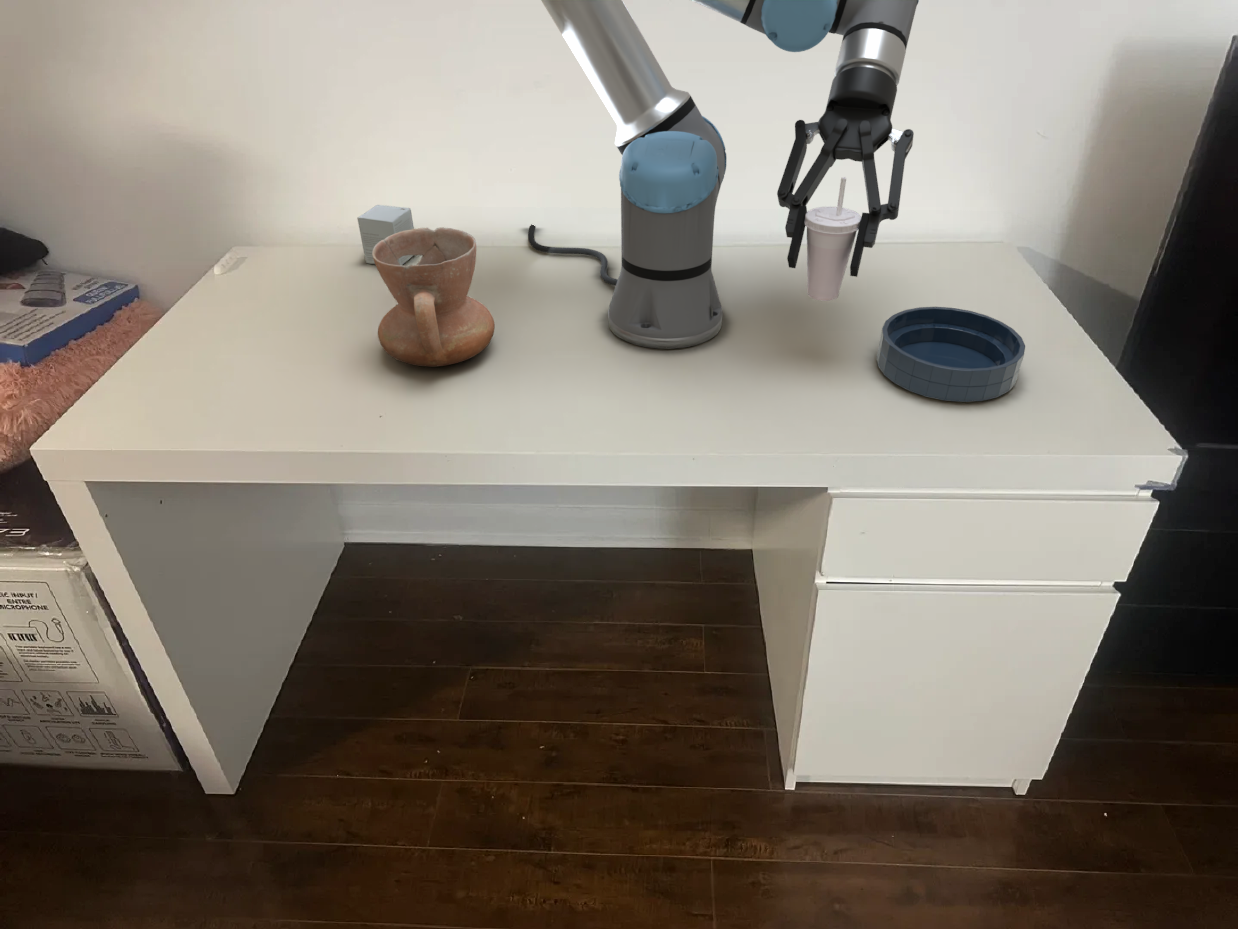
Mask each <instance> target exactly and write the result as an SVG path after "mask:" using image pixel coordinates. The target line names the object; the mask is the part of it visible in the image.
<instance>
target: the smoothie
mask: <svg viewBox="0 0 1238 929" xmlns="http://www.w3.org/2000/svg"><path fill="white" fill-rule="evenodd" d="M846 184H847V177H846V176H842V177H841V179H840V183H839V192H838V199H837V206H831V205H830V206H818V207H814V208H811V209H809V210H807V213H806V215H805V221H804V224H805V225H806V226H805V228H806V289H807V290H806V294H807V296H808V297H809V298H810V299H814V300H815V301H816V300H817V301H821V302H822V301H824V302H825V301H827V302H828V301H833V300H836V299H837V298H838V297H839V295H840V291H841V288H842V284H843V280H844V277H845V274H846V270H847V268H848V264H849V260H850V256H851V252H852V249H853V247H854V246H853V245H854V244H855V240H856V239H855V238H856V237H857V233H858V230H859V226H860V221H861V217H862V215H861V214H860V213H858V212H857V211H855V210H853V209H850V208H846V207H843V205H844V197H845V190H846Z"/></svg>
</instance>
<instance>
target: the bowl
mask: <svg viewBox="0 0 1238 929" xmlns="http://www.w3.org/2000/svg"><path fill="white" fill-rule="evenodd" d="M1023 339H1024V338H1023V337H1022V336H1021V335H1020V334H1019V333H1018V332H1017V331H1016V330H1015V329H1014V328H1012V327H1011V326H1009V325H1008V324H1006V323H1004V322H1003V321H1001V320H998V319H996V318H994V317H991V316H989V315H987V314H982V313H979V312H976V311H973V310H969V309H962V308H956V307H947V306H921V307H920V306H919V307H913V308H908V309H904V310H901V311H899V312H897V313H894V314H892V315H890V317H888V318H887V319H886V320H885V321H884V322H883V326H882V327H881V333H880V338H879V342H878V348H877V354H876V362H877V366H878V368H879V369H880V371H881V373H882V374H883V376H884V377H886V378H887V379H888V380H890V381H891V382H892V383H894V384H895V385H897V386H898V387H901V388H903V389H904V390H907V391H909V392H911V393H913V394H917V395H919V396H922V397H926V398H931V399H936V400H940V401H949V402H959V403H960V402H961V403H969V402H982V401H983V402H984V401H987V400H992V399H996V398H999V397H1001V396H1002V395H1005V394H1006V393H1008V392H1010V390H1012V388H1013V387H1014V386H1015V385H1016V382H1017V380H1018V377H1019V373H1020V370H1021V367H1022V363H1023V360H1024V359H1023V358H1024V356H1025V352H1026V344H1025V341H1024V340H1023Z"/></svg>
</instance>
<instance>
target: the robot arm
mask: <svg viewBox="0 0 1238 929" xmlns="http://www.w3.org/2000/svg"><path fill="white" fill-rule="evenodd" d="M690 1H691V2H694V3H695V4H698V5H699V6H702V7H706V8H707V9H709V10H712V11H714V12H716V13H718V14H721V15H723V16H725V17H727V18H729V19H732V20H734V21H736V22H739V23H740V24H743V25H744V26H746V27H748V28H749V29H752V30H754V31H757V32H758V33H761V34H763V35H765V36H766V37H767V39H768V40H770V41H771V42H772V44H774V46H776V47H777V48H779V49H780V50H782V51H785V52H788V53H789V52H790V53H801V52H805V51H808V50H810V49H813V48H815V47H816V46H817V45H819V44H820V43H821V42H822V41H823V40H824V39H825V38H826V37H827V35H828V34H833V35H838V36H839V35H840V36H842V40H841V44H840V47H839V51H838V56H837V60H836V64H835V68H834V73H833V76H834V78H833V79H832V82H831V86H830V90H829V94H828V98H827V102H826V107H825V111H824V113H823V114H822V116H821V117H820V118H819V119H818V121H814V122H807V123H806V121H805V120H803V119H798V120H796V121H795V123H794V134H795V135H794V141H793V144H792V147H791V151H790V153H789V156H788V159H787V162H786V166H785V168H784V170H783V174H782V177H781V180H780V182H779V186H778V189H777V192H776V195H777V201H778V205H779V206H780V207H781V208H787V209H788V214H787V219H786V223H785V226H784V229H785V235H786V238H790V239H791V240H790V245H789V248H788V252H787V257H786V260H787V265H788V268H791V269H796V268H797V263H798V259H799V256H800V251H801V246H802V243H803V238H804V234H805V230H806V225H805V224H804V221H805V215H806V213H807V212H808V208H807V205H808V203H809V202H810V200H811V198H812V197H813V195H814V194H815V192H816V191H817V189H818V188H819V186H820V184H821V183H822V181H823V179H824V178H825V176H826V175H827V173H828V171H829V169H831V168H832V167H833V166H834V164H835V163H836V161H837V160H841V161H843V160H851V161H853V162H854V161H855V162H859V163H861V165H862V171H863V178H864V185H865V191H866V192H865V193H866V202H867V208H868V212H861V221H860V226H859V229H858V230H857V233H856V239H855V242H854V248H853V252H852V256H851V261H850V266H849V273H850V274H849V276H850V277H855V278H857V277H858V274H859V270H860V265H861V263H862V262H861V261H862V257H863V253H864V249H865V248H869V249H873V248H874V246H875V244H876V240H877V236H878V231H879V226H880V224H881V222H882V221H885V220H890V221H893V220H896V219H898V217H899V211H900V203H901V195H902V187H903V180H904V179H903V178H904V171H905V163H906V159H907V156H908V155H909V154H910V151H911V149H912V148H913V144H914V130H913V129H911V128H906V129H905V130H903V131H902V130H900V129H896V128H893V124H892V121H891V118H892V114H893V110H894V106H895V102H896V98H897V93H898V85H899V84H900V80H901V75H902V71H903V66H904V62H905V57H906V53H907V49H908V44H909V43H908V42H909V40H910V35H911V30H912V27H913V22H914V18H915V14H916V11H917V6H918V4H919V2H920V0H690ZM540 2H541V3H542V4H543V6H544V8H545V10H546V11H547V13H548V14H549V16H550V17H551V19H552V21H553V22H554V24H555V26H556V27H557V29H558V31H559V32H560V34H561V36H562V37H563V39H564V40H565V42H566V44H567V45H568V47H569V48H570V49H569V50H571V52H572V54H573V55H574V57H575V59H576V60H577V62H578V63H579V65H580V67H581V68H582V70H583V72H584V74H585V75H586V76H587V79H588V80H589V82H590V83H591V85H592V87H593V88H594V89H595V92H596V93H597V95H598V97H599V98H600V99H601V101H602V103H603V104H604V106H605V108H606V109H607V111H608V113H609V114H610V116H611V117H612V118H611V119H613V121H614V122H615V124H616V133H615V134H616V135H615V140H614V145H615V146H616V148H617V150H618V151H619V153H620V154H621V163H620V168H619V174H618V181H619V187H620V233H621V235H620V236H621V237H620V238H621V240H620V241H621V242H620V243H621V244H620V246H621V268H620V272H619V274H618V277H617V278H615V277H611V276H610V275H608V266H609V261H608V258H607V257H606V255H605V254H604V253H602V252H600V251H598V250H595V249H591V248H585V247H565V246H563V247H562V246H561V247H559V246H547V245H542V244H539V243H538V242H537V241H536V238H535V232H536V228H537V226H536V225H535V224H534V225H535V226H534V225H532V224H530V225H531V226H530V225H529V228H528V233H527V239H528V240H527V241H528V243H529V245H530V247H532V249H534V250H536V251H538V252H542V253H546V254H554V255H555V254H556V255H557V254H558V255H583V256H590V257H594V258H596V259H598V260H599V261H600V263H601V265H600V270H599V276H600V277H601V279H602V282H605V284H609V285H611V286H614V290H613V294H612V296H611V299H610V302H609V305H608V312H607V313H608V315H607V316H608V328H609V329H610V331H611V332H612V333H613V334H614V335H615V336H616V337H618V338H619V339H621V340H623V341H624V342H626V343H630V344H632V345H635V346H639V347H644V348H650V349H657V350H658V349H659V350H664V349H665V350H674V349H683V348H684V349H685V348H689V347H693V346H697V345H700V344H703V343H705V342H707V341H709V340H711V339H713V338H714V337H715V336H716V335H718V333H719V332H720V331H721V329H722V325H723V307H722V302H721V298H720V295H719V293H718V292H719V291H718V289H717V285H716V281H715V278H714V274H713V271H712V263H713V262H712V261H713V246H714V244H713V243H714V229H715V214H716V206H717V202H718V197H719V193H720V191H721V186H722V184H723V182H724V178H725V174H726V171H727V152H726V145H725V143H724V140H723V138H722V135H721V133H720V132H719V130H718V127H716V125H715V124H714V123H713V122H711V121H710V119H708V118H706V117H705V116H703V115H702V113H701V111H700V109H699V108H698V106H697V104H696V103H695V101H694V99H693V97H692V95H691V94H690V93H689V91H685V90H681V89H677V88H674V87H673V86H672V85H671V83H670V81H669V79H668V77H667V75H666V74H665V72H664V70H663V69H662V67H661V65H660V63H659V61H658V60H657V58H656V57H655V54H654V53H653V51H652V50H651V48H650V46H649V44H648V42H647V40H646V39H645V36H644V35H643V33H642V32H641V30H640V28H639V26H638V24H637V23H636V21H635V19H634V18H633V15H632V14H631V12H630V11H629V9H628V7H627V6H626V3H625V2H624V0H540ZM818 134H819V136H820V138H821V140H822V142H823V145H822V146H821V149H820V151H819V154H818V156H817V157H816V158H815V160H814V162H813V163H812V165H811V167H810V168H809V170H808V171H807V173H806V175H805V176H804V178H803V179H802V181H801V182H800V184H799V186H798V187H797V189H796V190H795V186H796V184H797V181H798V179H799V176H800V172H801V169H802V167H803V163H804V160H805V157H806V154H807V150H808V145H810V144H812V142H813V141H814V139H815V136H817V135H818ZM888 141H890V143H891V145H890V146H891V147H890V148H891V151H892V152H894V153H893V161H892V168H891V170H892V171H891V176H890V184H889V190H888V191H889V192H888V199H887V203H883V204H881V197H880V189H879V182H878V175H877V168H876V167H877V166H876V160H875V153H876V152H877V151H878V150H879V149H880V148H881V147H882V146H884V145H885V144H886V143H887V142H888ZM794 190H795V192H794ZM793 192H794V193H793Z"/></svg>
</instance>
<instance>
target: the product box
mask: <svg viewBox="0 0 1238 929" xmlns="http://www.w3.org/2000/svg"><path fill="white" fill-rule="evenodd" d="M357 224H358V228H359V235H360V239H361V245H362V250H363V256H364V261H365V263H366V264H368V265H369V264H371V265H375V262H374V259H373V256H372V252H373V249H374V247H375V245H376V244H377V243H379V242H380V241H381V240H384V239H385V238H387V237H388V236H390V235H393V234H395V233H398V232H401V231H405V230H411V229H415V226H414V220H413V214H412V209H411V207H404V206H394V205H385V204H376V205H374V206H373V207H372V208H369V209H368V210H367V211H365V212H364V213H363V214H361V215H359V216H358V217H357ZM414 256H415V255H406V256H402V257H400V258H399V259H398V262H399V264H400V265H403V266H404V264H405V263H407V262H408V261H409V260H410V259H411V258H413V257H414Z"/></svg>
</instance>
